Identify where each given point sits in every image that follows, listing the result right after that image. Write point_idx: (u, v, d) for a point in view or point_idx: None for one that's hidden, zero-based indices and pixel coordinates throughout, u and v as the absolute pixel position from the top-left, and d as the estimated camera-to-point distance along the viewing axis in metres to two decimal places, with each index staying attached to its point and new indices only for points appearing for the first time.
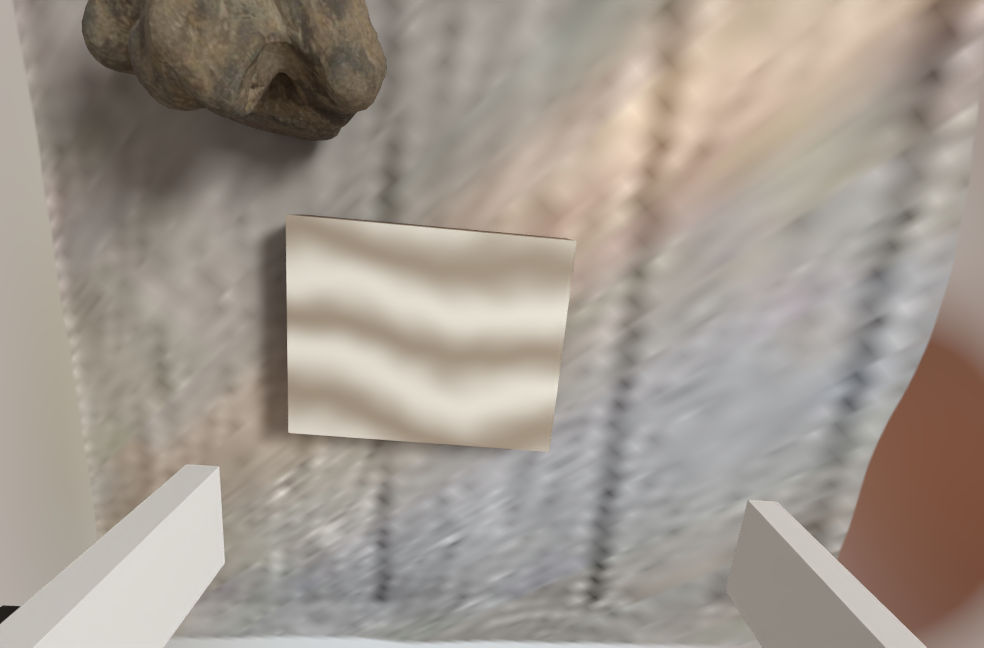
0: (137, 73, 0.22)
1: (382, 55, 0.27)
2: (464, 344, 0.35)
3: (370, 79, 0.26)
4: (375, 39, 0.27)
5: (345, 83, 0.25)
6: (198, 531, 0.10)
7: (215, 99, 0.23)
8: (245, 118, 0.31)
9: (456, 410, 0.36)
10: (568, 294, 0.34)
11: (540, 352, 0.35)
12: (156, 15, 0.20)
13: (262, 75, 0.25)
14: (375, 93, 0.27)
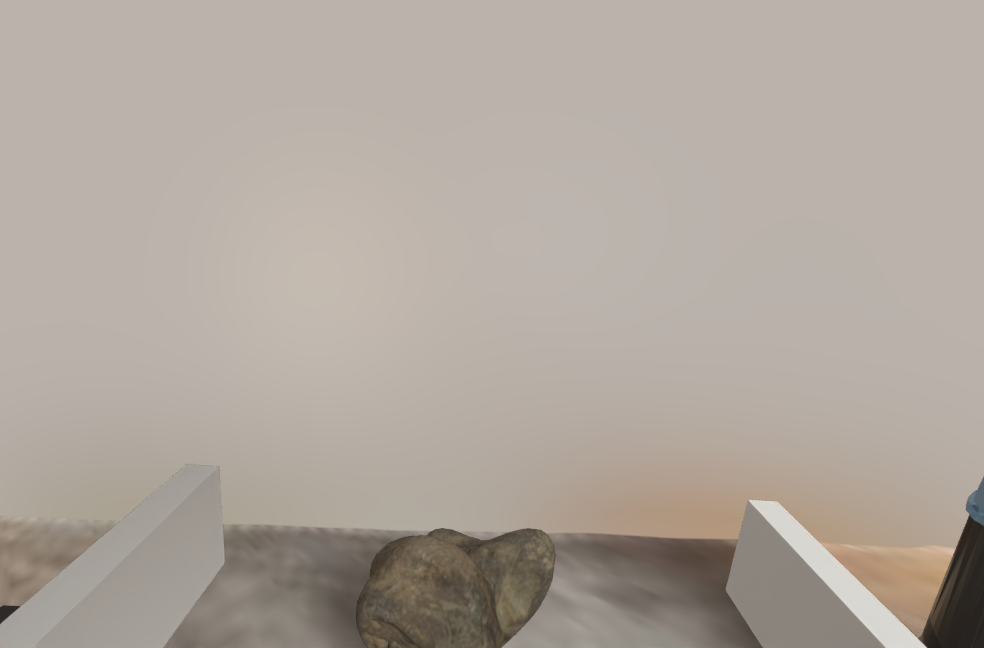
0: None
1: None
2: None
3: None
4: None
5: None
6: (198, 531, 0.10)
7: (367, 592, 0.22)
8: None
9: None
10: None
11: None
12: (428, 540, 0.23)
13: None
14: None
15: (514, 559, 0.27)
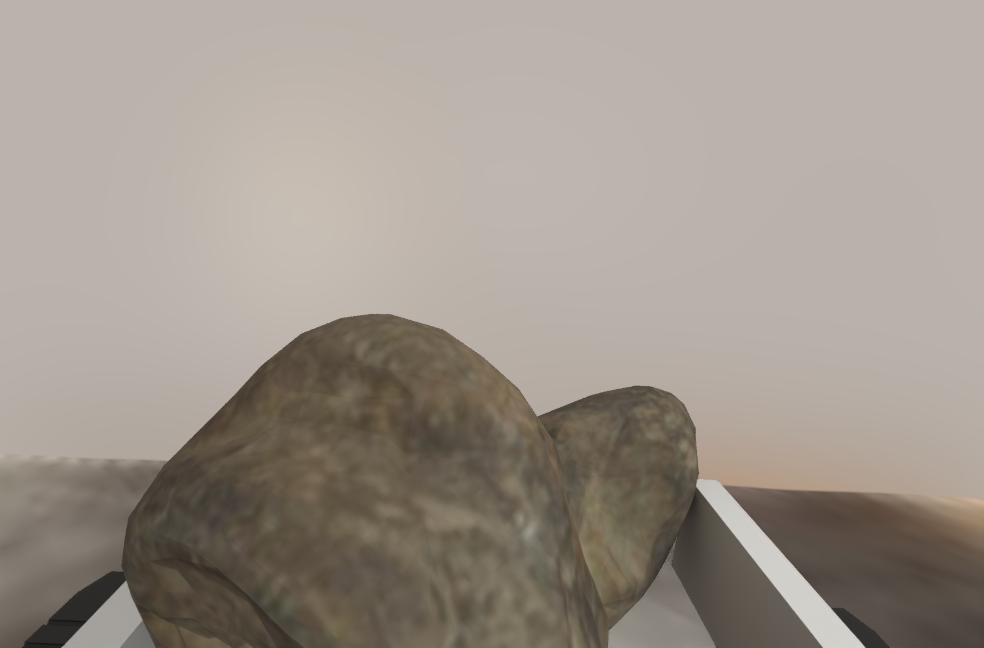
0: None
1: None
2: None
3: None
4: None
5: None
6: None
7: (162, 471, 0.06)
8: None
9: None
10: None
11: None
12: (383, 316, 0.07)
13: None
14: None
15: (611, 441, 0.11)
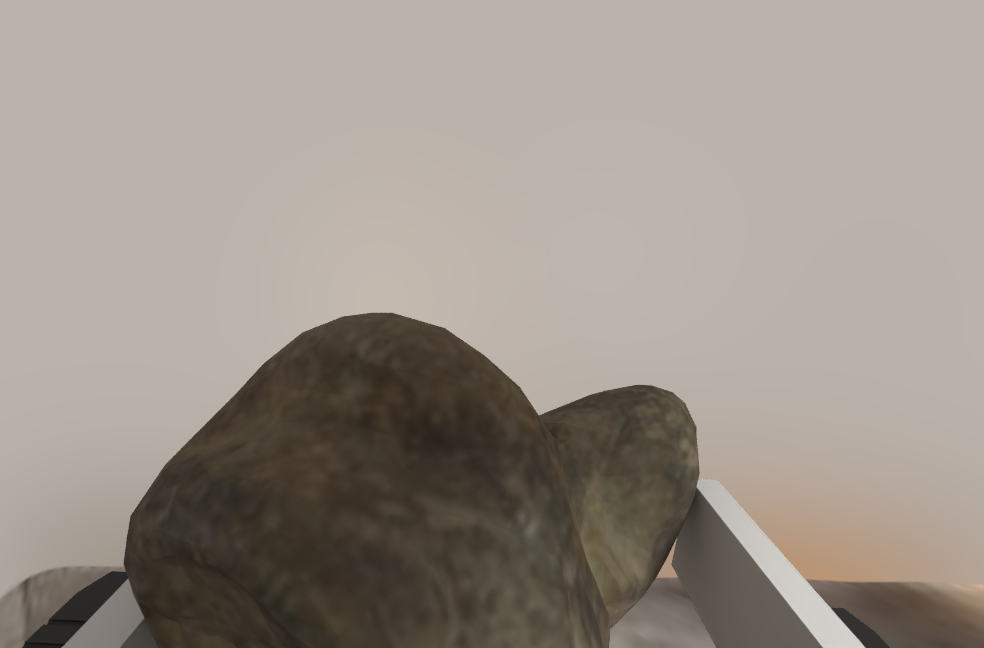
0: None
1: None
2: None
3: None
4: None
5: None
6: None
7: (164, 469, 0.06)
8: None
9: None
10: None
11: None
12: (385, 315, 0.07)
13: None
14: None
15: (611, 439, 0.11)
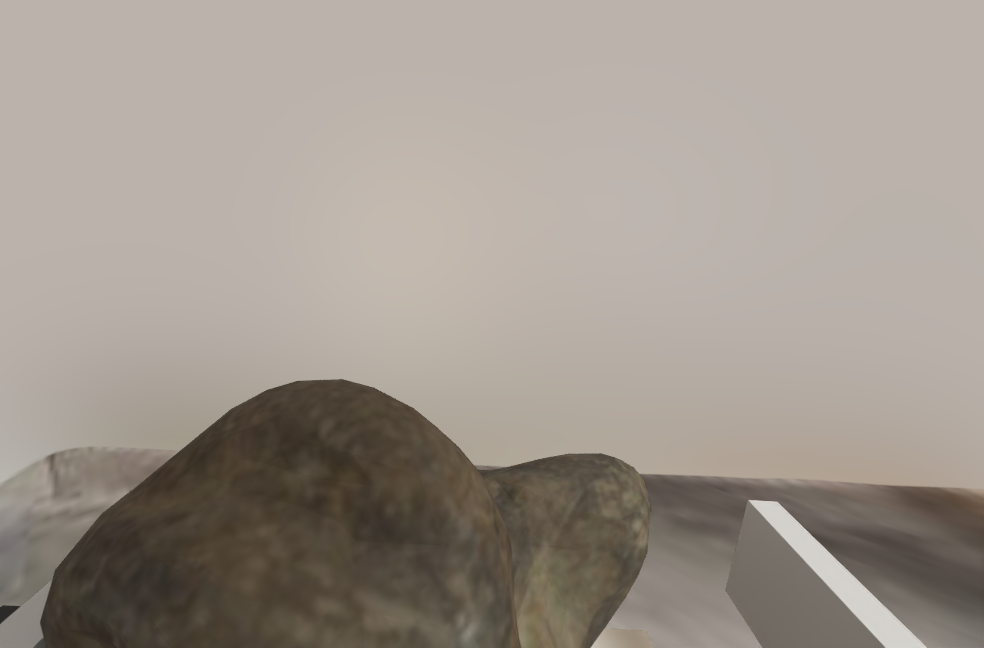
0: None
1: None
2: None
3: None
4: None
5: None
6: None
7: (99, 526, 0.06)
8: None
9: None
10: None
11: None
12: (354, 388, 0.07)
13: None
14: None
15: (566, 512, 0.11)
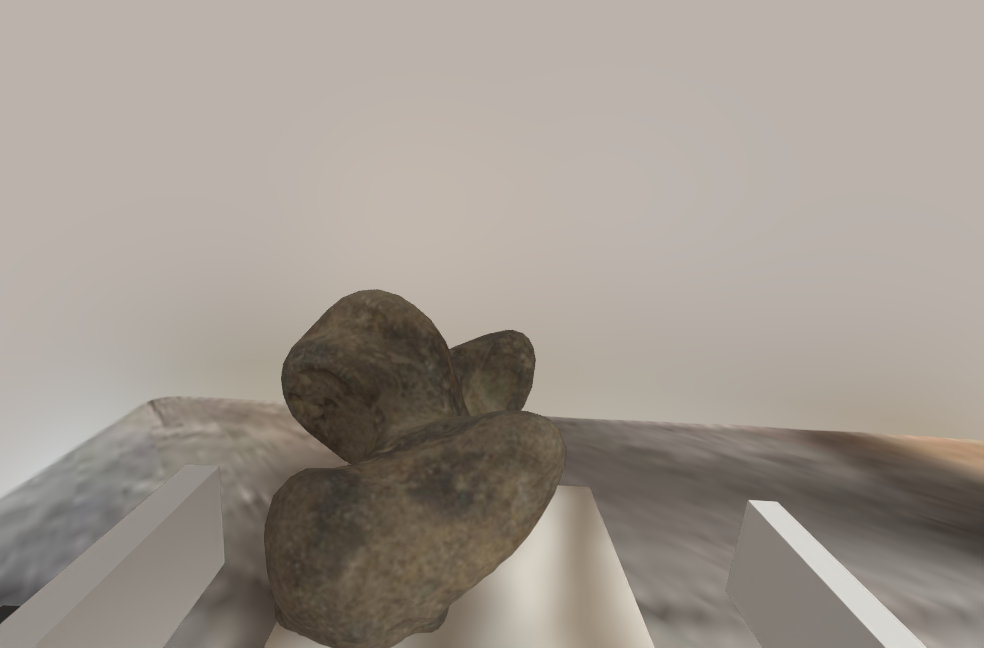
0: None
1: (369, 613, 0.12)
2: None
3: (308, 559, 0.12)
4: (396, 591, 0.13)
5: (295, 490, 0.13)
6: (198, 531, 0.10)
7: (295, 346, 0.18)
8: None
9: None
10: None
11: None
12: (375, 290, 0.18)
13: (337, 422, 0.17)
14: (288, 593, 0.12)
15: (486, 353, 0.22)
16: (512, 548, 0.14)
